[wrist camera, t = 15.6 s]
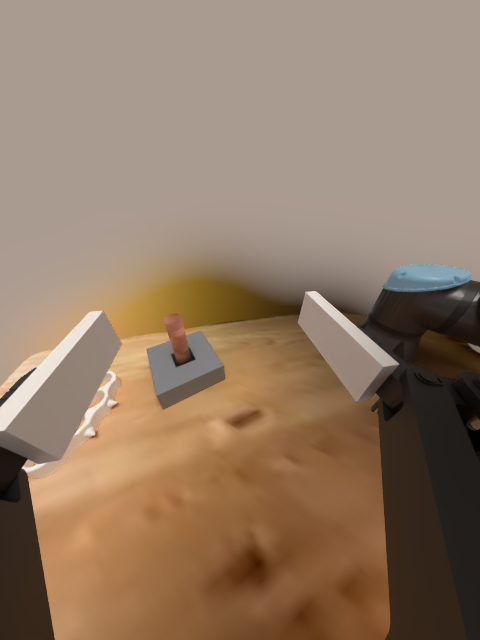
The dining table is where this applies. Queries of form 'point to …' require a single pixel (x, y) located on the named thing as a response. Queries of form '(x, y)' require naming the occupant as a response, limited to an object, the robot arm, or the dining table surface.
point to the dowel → (178, 338)
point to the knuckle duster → (82, 427)
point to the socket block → (184, 370)
